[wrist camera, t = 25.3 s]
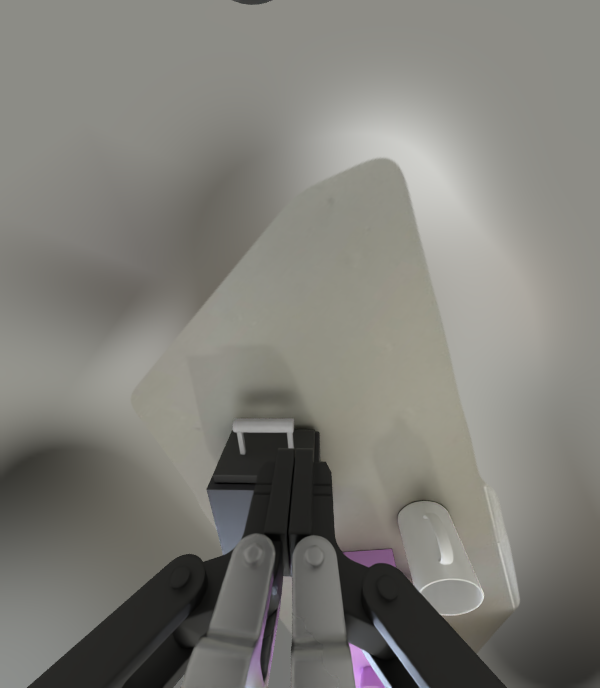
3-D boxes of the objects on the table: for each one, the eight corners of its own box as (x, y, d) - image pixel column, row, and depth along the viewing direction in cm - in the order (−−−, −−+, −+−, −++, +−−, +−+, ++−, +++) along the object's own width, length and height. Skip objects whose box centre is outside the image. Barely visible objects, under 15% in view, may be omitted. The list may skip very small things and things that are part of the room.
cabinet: (231, 431, 41) (206, 489, 32) (319, 432, 40) (318, 491, 31) (245, 507, 47) (227, 573, 38) (322, 509, 46) (322, 578, 37)
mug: (449, 532, 46) (483, 615, 36) (398, 535, 47) (418, 616, 37) (448, 476, 41) (487, 554, 32) (393, 481, 42) (414, 557, 33)
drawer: (226, 398, 38) (204, 440, 30) (313, 398, 37) (311, 440, 29) (245, 502, 45) (231, 555, 38) (318, 504, 44) (317, 559, 37)
